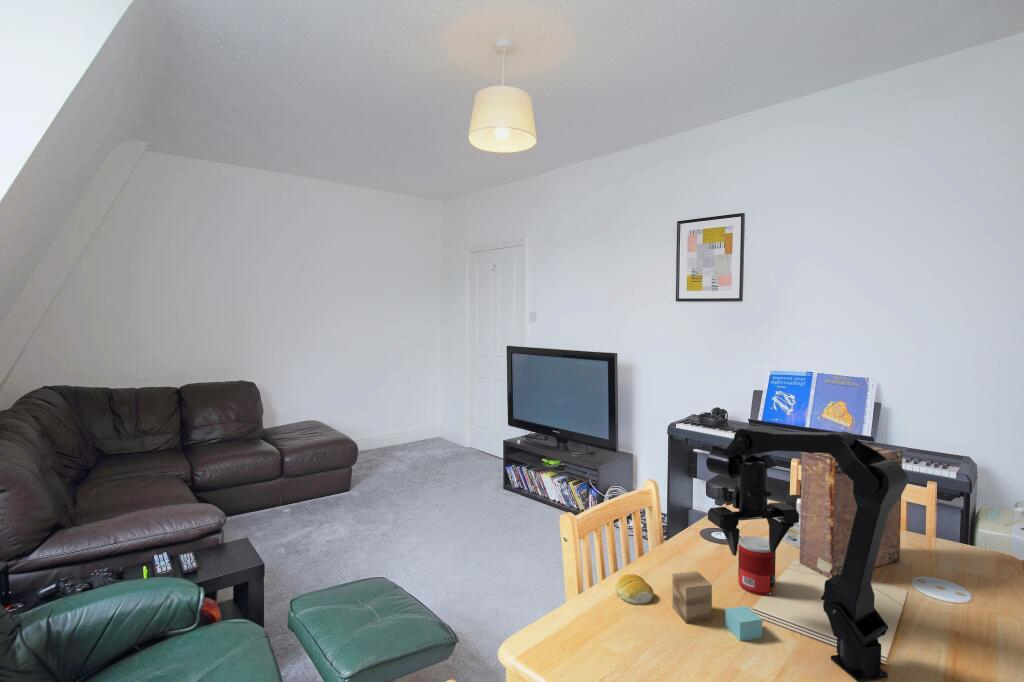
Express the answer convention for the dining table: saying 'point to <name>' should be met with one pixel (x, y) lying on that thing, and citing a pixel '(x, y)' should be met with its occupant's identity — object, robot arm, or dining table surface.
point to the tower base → (692, 611)
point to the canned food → (756, 565)
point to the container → (793, 532)
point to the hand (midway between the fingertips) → (753, 553)
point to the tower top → (692, 588)
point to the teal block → (743, 623)
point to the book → (837, 515)
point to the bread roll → (634, 589)
